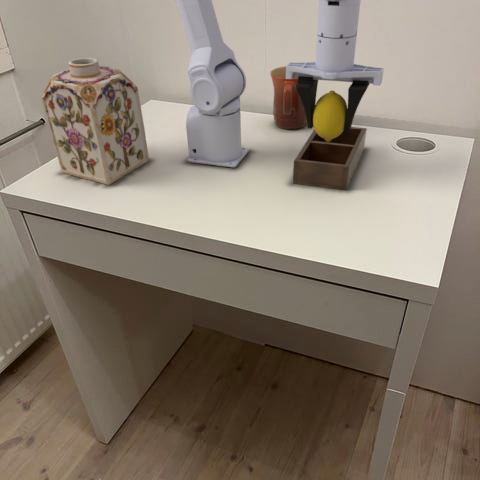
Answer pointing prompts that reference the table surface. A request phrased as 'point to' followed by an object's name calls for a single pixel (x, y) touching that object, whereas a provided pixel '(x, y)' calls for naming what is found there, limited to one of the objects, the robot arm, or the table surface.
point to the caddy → (329, 159)
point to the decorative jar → (95, 121)
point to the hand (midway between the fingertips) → (328, 128)
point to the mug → (287, 101)
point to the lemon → (330, 115)
